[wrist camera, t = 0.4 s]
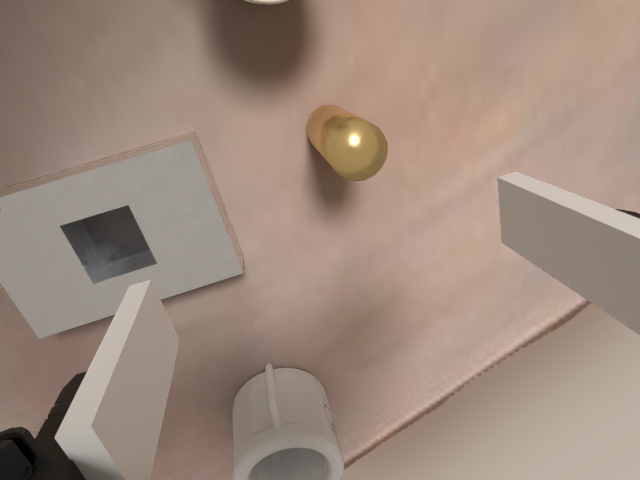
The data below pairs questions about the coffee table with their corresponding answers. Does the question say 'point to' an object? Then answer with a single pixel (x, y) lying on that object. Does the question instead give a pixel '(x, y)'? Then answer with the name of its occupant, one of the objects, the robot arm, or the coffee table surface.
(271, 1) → the mug
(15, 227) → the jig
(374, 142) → the brass cylinder rod
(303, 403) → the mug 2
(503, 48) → the coffee table surface
